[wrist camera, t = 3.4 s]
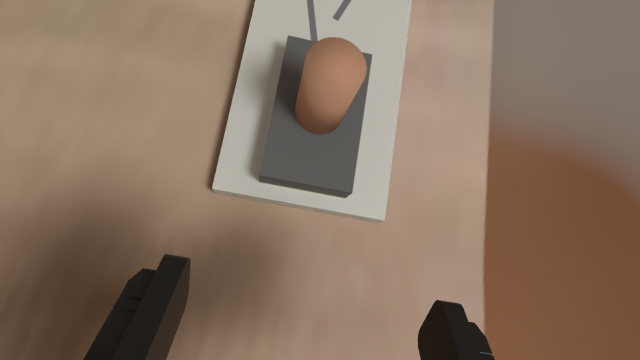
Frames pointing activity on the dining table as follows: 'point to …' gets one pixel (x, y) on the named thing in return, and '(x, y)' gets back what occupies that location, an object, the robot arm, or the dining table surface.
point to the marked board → (261, 85)
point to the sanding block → (317, 117)
